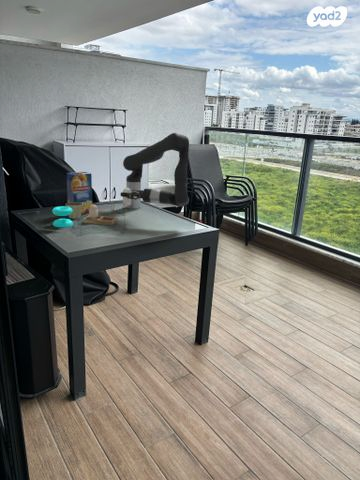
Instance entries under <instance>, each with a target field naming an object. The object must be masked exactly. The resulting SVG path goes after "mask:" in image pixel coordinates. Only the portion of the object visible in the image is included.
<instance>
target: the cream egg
mask: <svg viewBox="0 0 360 480" xmlns="http://www.w3.org/2000/svg"><path fill="white" fill-rule="evenodd" d="M122 192H125V193H131V190H130V189H129V188H126V187H125V188H124V189H123V190H122ZM130 196H131V195H130ZM122 205H123V206H126V205H131V199H129V198H127V197H122Z"/></svg>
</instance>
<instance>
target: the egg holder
mask: <svg viewBox="0 0 360 480" xmlns="http://www.w3.org/2000/svg"><path fill="white" fill-rule="evenodd" d="M117 222H118V217H116V216H107V215H106V216H103V215H98V219H97V220H95V219H89V214H88V215H87V216H85V217H83V218H82V224H83V223H85V224H95V225H102V226H103V225H104V226H105V225H106V226H113V225H115V224H116V223H117Z"/></svg>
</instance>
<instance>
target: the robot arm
mask: <svg viewBox="0 0 360 480" xmlns="http://www.w3.org/2000/svg"><path fill="white" fill-rule="evenodd" d="M169 151H176V152H178V156H179V158H178V162H177V165H176V167H175V169H174V175H173V176H174V177H173V179H174V192H172V191H169V190H160V189H156V188H155V189H153V188H143V190H141V189H142V177H143V169H144V168H143V166H144V165H146V164H151V163H155V162H157V161H159V160H161V159H162V158H163V156H164V155H165V153H166V152H169ZM189 151H190V140H189V138H188V136H187V135H184V134H181V133H177V132H173V133H171V134H169V135H167V136H166V137H164V138H162V139H161V140H159V141H158V142H156V143H154V144H151V145H150V146H147V147H146V148H143V149H142V150H140V151H138V152H136V153H134V154H131V155H127V156H126V157H125V158H124V159H123V160H122V161H123V162H122V166H123V168H124V169H125V170H127V171H129V172H130V171H131V173H130V174H128V175H127V176H126V180H125V181H126V184H125V185H126V187H125V188H129V189H130V190H131V193H125V192H123V191H121V192H120V197H122V198H123V197H127V198H129V199H131V205H125V206H126V208H127V209H132V210H137V209H141V208H142V207H141V206H142V205H141V204H142V203H141V202H143V203H146V204H147V203H148V204H149V203H150V204H161V205H162V204H164V205H172V206H177V207H185V206H187V205H188V204H189V203H190V198H189V196H188V195H189V194H188V184H189V183H188V161H189ZM130 195H131V196H130ZM141 200H142V201H141Z"/></svg>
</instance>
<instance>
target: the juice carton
mask: <svg viewBox="0 0 360 480" xmlns="http://www.w3.org/2000/svg"><path fill="white" fill-rule="evenodd" d="M92 184H93V183H92V173H91V172H87V171H77V172H66V190H67V191H66V192H67V203H70V202H79V203H83V205H82V209H81V215H82V214H86V213H87V214H89V206H90V205H93V185H92Z"/></svg>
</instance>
